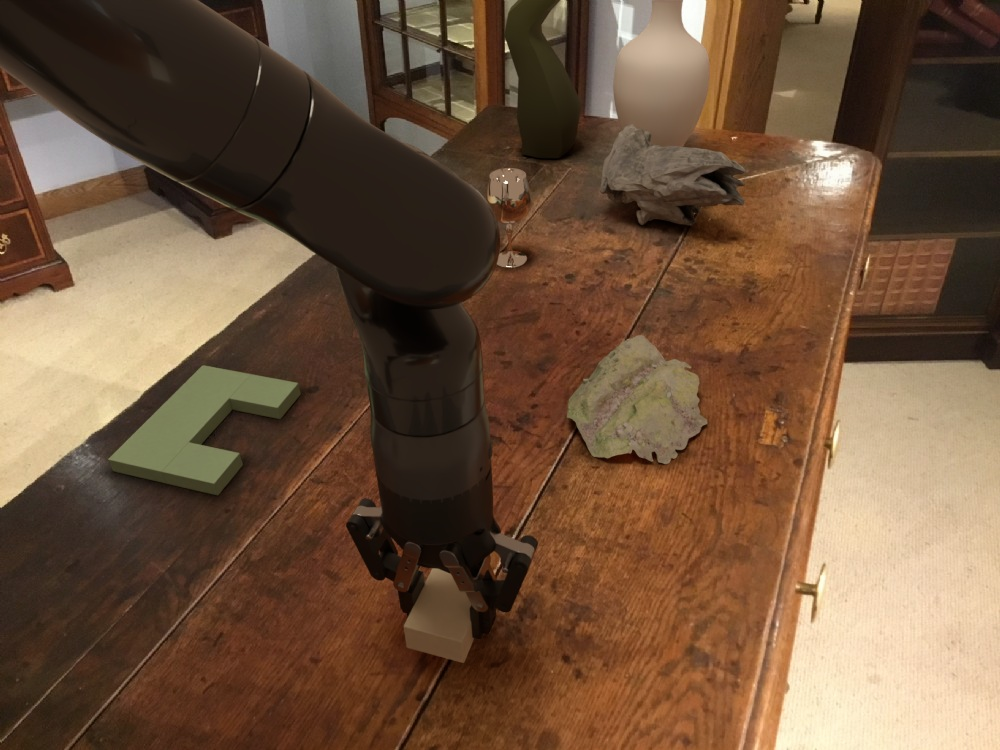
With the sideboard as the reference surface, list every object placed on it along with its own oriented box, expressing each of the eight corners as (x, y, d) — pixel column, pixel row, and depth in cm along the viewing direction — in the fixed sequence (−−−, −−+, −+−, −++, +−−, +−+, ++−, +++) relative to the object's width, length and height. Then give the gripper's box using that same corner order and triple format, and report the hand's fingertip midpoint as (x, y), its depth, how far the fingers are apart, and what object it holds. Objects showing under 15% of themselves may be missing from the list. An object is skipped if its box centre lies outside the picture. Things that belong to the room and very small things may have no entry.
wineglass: (517, 274, 111) (514, 188, 104) (480, 263, 114) (476, 179, 106) (539, 255, 115) (539, 171, 108) (504, 245, 118) (501, 163, 110)
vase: (597, 152, 142) (604, -30, 125) (678, 141, 145) (695, -38, 128) (628, 187, 131) (640, -8, 114) (714, 175, 133) (739, -17, 117)
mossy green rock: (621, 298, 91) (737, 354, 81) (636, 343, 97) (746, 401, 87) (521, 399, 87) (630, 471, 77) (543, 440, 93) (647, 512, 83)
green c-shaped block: (218, 495, 80) (214, 483, 79) (112, 471, 83) (107, 459, 82) (301, 394, 92) (298, 382, 91) (206, 376, 95) (202, 365, 94)
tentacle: (570, 164, 139) (573, -36, 121) (499, 156, 142) (492, -40, 124) (585, 144, 145) (590, -49, 127) (518, 136, 149) (513, -52, 131)
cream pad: (464, 663, 62) (462, 642, 61) (406, 648, 64) (402, 626, 62) (490, 600, 67) (489, 578, 65) (435, 586, 68) (433, 564, 67)
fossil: (724, 278, 119) (788, 187, 111) (618, 244, 112) (679, 143, 104) (674, 206, 134) (727, 120, 126) (578, 171, 127) (628, 78, 119)
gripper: (305, 471, 54) (342, 637, 64) (521, 519, 50) (524, 687, 60) (357, 400, 60) (384, 563, 70) (555, 438, 56) (552, 605, 66)
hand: (449, 620), depth 65 cm, fingers closed on cream pad, 4 cm apart
